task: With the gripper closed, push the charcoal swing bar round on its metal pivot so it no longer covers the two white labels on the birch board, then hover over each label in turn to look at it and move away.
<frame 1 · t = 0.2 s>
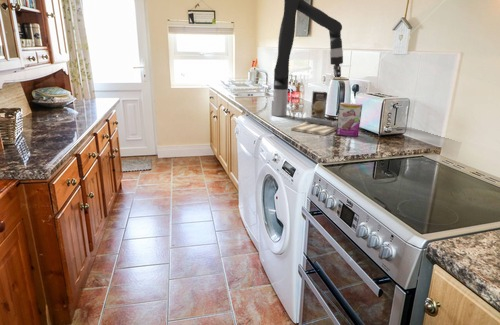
hand: (337, 82, 218), 22 cm above the worktop, tool pointing down, fingers open, 8 cm apart
swing bar: (321, 121, 194), point 3 cm above the worktop, hinge at 0.0°
candy bar box: (347, 135, 179), on the worktop
coffee box: (317, 117, 226), on the worktop
label board: (316, 128, 192), on the worktop
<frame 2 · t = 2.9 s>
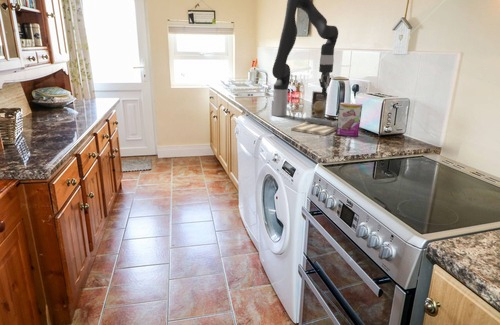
hand: (324, 94, 198), 17 cm above the worktop, tool pointing down, fingers closed
nothing on the worktop moved.
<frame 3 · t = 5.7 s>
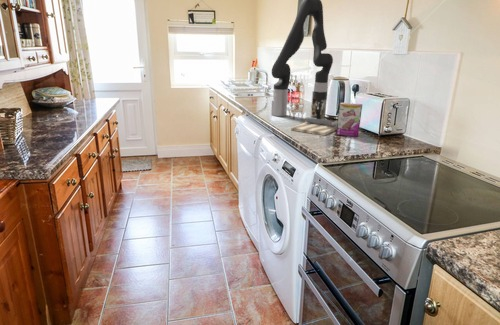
hand: (318, 120, 199), 3 cm above the worktop, tool pointing down, fingers closed
swing bar: (321, 121, 194), point 3 cm above the worktop, hinge at 0.3°, touching gripper
everything else where it was.
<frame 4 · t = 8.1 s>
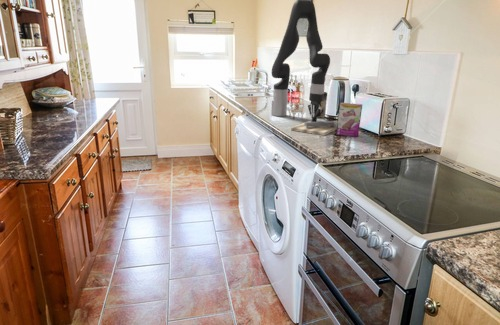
hand: (313, 123, 191), 3 cm above the worktop, tool pointing down, fingers closed
swing bar: (321, 123, 189), point 3 cm above the worktop, hinge at 47.9°, touching gripper
everything else where it was.
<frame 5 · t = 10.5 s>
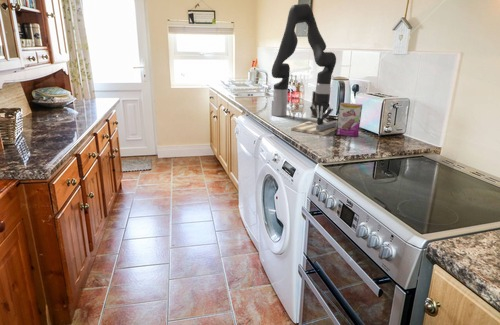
hand: (319, 124, 184), 4 cm above the worktop, tool pointing down, fingers closed
swing bar: (327, 125, 185), point 3 cm above the worktop, hinge at 84.1°
everything else where it was.
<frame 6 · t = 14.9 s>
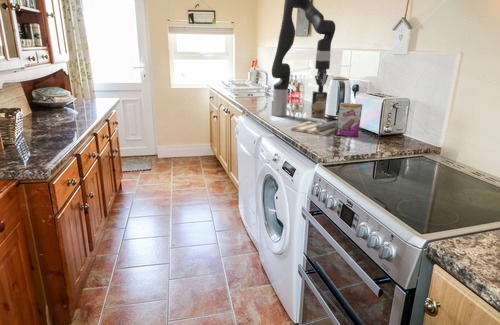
hand: (320, 92, 190), 19 cm above the worktop, tool pointing down, fingers closed
nothing on the worktop moved.
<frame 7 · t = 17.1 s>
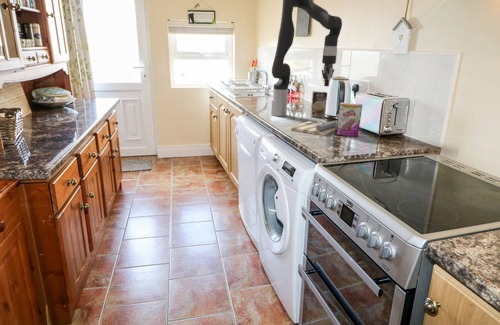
hand: (326, 86, 197), 22 cm above the worktop, tool pointing down, fingers closed
nothing on the worktop moved.
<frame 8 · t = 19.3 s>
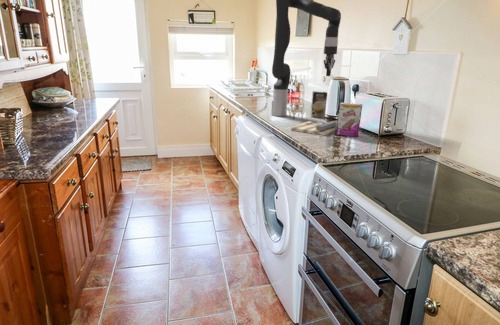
hand: (328, 76, 207), 27 cm above the worktop, tool pointing down, fingers closed
nothing on the worktop moved.
at the end: swing bar at +84° (first picture: +0°) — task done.
